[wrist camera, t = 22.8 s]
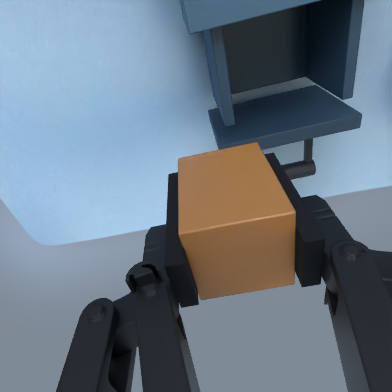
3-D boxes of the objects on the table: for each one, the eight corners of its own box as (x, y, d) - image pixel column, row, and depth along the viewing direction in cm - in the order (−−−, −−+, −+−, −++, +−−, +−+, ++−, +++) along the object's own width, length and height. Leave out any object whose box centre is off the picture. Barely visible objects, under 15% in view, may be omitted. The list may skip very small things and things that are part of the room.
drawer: (313, 139, 33) (352, 179, 26) (217, 160, 34) (229, 205, 26) (322, -76, 22) (396, -111, 15) (180, -36, 23) (182, -51, 15)
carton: (193, 217, 18) (200, 301, 13) (177, 157, 15) (177, 234, 10) (262, 204, 17) (295, 285, 12) (257, 141, 15) (297, 211, 10)
